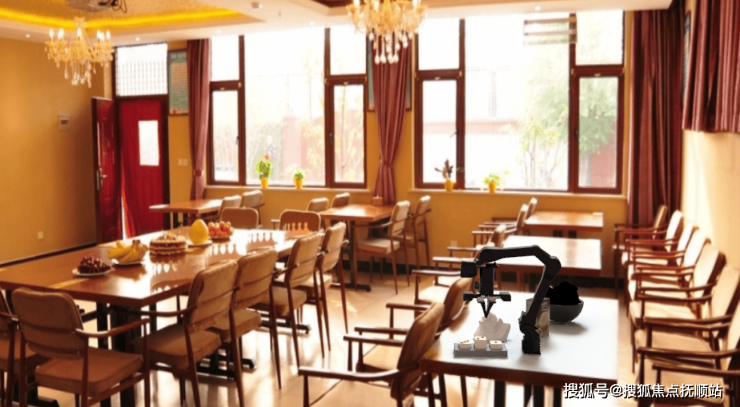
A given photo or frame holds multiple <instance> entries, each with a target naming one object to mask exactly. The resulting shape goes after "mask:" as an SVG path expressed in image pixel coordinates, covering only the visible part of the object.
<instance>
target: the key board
mask: <svg viewBox="0 0 740 407" xmlns="http://www.w3.org/2000/svg"><path fill="white" fill-rule="evenodd" d="M453 349H454V350H453V351H454V356H455V357H494V358H499V357H500V358H503V357H504V358H508V352H509V351H508V348H507V346H506V343H502V349H490V343H487V349H475V347H474V342H471V349H459V342H454V343H453Z"/></svg>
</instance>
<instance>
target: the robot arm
mask: <svg viewBox="0 0 740 407" xmlns="http://www.w3.org/2000/svg"><path fill="white" fill-rule="evenodd" d="M522 257H535V258H536V259H537V260H539V261H540V262H541V263H542V264H543V269H542V275H541V278H540V280H539V283H538V285H537V287H536V289H535V291H534V294H533V296H532V298H533V299H532V301H531V303H530V306H529V308H528V309H527V310H526V309H525V311H524V310H521V312H520V315H519V317H518V318H517V321H518V323H517V324H518V327H519V329H518V330H519V332H520V333H521V334H523V335H522V339H521V340H520V341H521V351H522V353H523V355H542V352H541V338H540V333H539V329H538V328H537V327H536V326H535V324H536V319H537V314H538V311H539V309H540V307H541V304H542V302H543V300H544V298H545V295H546V293H547V291H548V288H549V286H550V287H551V283H552V281H554V279H555V278H556V277H557V276H558V274H559V273H560V271H561V269H562V263H561V260H560V258H558V256H555V255H551V254H550V253H548V252H547V251H546V250H544V249H543V248H541V247H540V245H538V244H532V245H521V246H511V247H499V246H491V245H486V246H483V247H481V249H480V252H479V256H478V257H477V258H475V261H474V260H473V261H472V260H471V261H470V260H464V259H463V260H461V263H460V269H459V270H460V273H459V274H460V275H459V276H460V277H459V278H462V279H475V278H476V277H477V276H479V279H478V281H473V290H474V291H477V293H474V292H473V291H472V290H463V291H462V292H461V298H462V301H463V302H472V301H473V300H474V299H476V302H477V303H478V304H480V306H481V309H482V312H483V316H485V318H487V317H488V314H489V312H490V310H492V308H493V307H494V304H497V300H500V299H501V301H502V302H505V303H506V302H508V303H509V302H510V303H511V302H512V295H511V294H510V292H509V291H499V293H494V292H495V269H499V268H500V265H499V264H498V263H497V261H500V260H503V259H512V258H522ZM478 272H479V273H478ZM478 274H479V275H478ZM485 299H486V301H485Z"/></svg>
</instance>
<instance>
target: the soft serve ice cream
mask: <svg viewBox="0 0 740 407" xmlns="http://www.w3.org/2000/svg"><path fill="white" fill-rule="evenodd" d="M491 310H492V309H491ZM491 310H490V312H489V314H488V317H487V318H485V316H484V315H483V316H481V317H480V320H479V321H478V326H477V328H476V329H475V332H474V333H473V337H474V336H480V337H486V340H487V343H490V341H501V342H502V343H503V342H505V341H507V339H508V337H509V334H510V331H511V324H510V323H505V322H504V321H503V319H502V318H501V317H499V316H497V314H496V313H494V312H493V311H491Z"/></svg>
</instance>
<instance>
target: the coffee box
mask: <svg viewBox="0 0 740 407" xmlns="http://www.w3.org/2000/svg"><path fill="white" fill-rule="evenodd" d="M532 299H533V297H530V298H528V299H525V311H526V310H527V309H528V308H529V306H530V303H531V301H532ZM550 321H551V320H550V298H544V300H543V302H542V304H541V307H540V309H539V311H538V314H537V319H536V324H535V326H536V327H537V328H538V329H539V333H540V339H542V338H543V339H544V338H545V337H549V336H550Z"/></svg>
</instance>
